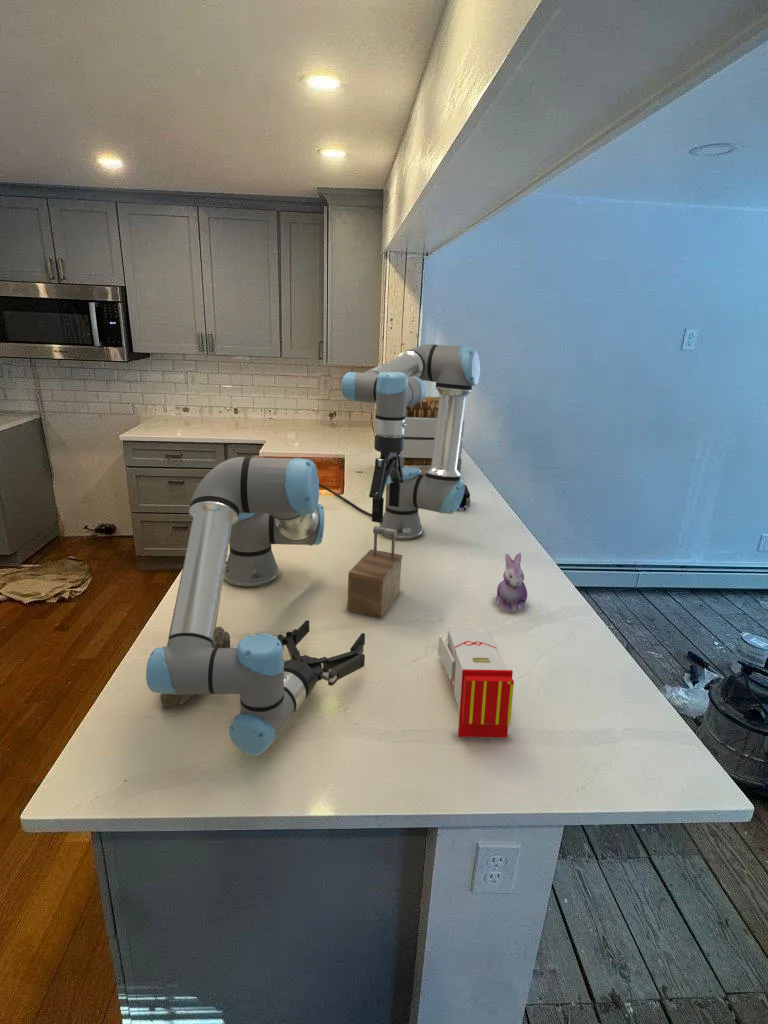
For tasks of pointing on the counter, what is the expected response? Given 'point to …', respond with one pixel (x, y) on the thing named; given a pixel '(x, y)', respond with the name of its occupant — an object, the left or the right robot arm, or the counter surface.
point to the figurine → (512, 586)
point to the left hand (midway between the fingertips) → (335, 631)
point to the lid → (377, 560)
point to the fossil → (219, 642)
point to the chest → (373, 594)
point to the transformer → (422, 434)
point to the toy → (478, 682)
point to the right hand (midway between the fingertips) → (385, 513)
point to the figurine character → (465, 499)
